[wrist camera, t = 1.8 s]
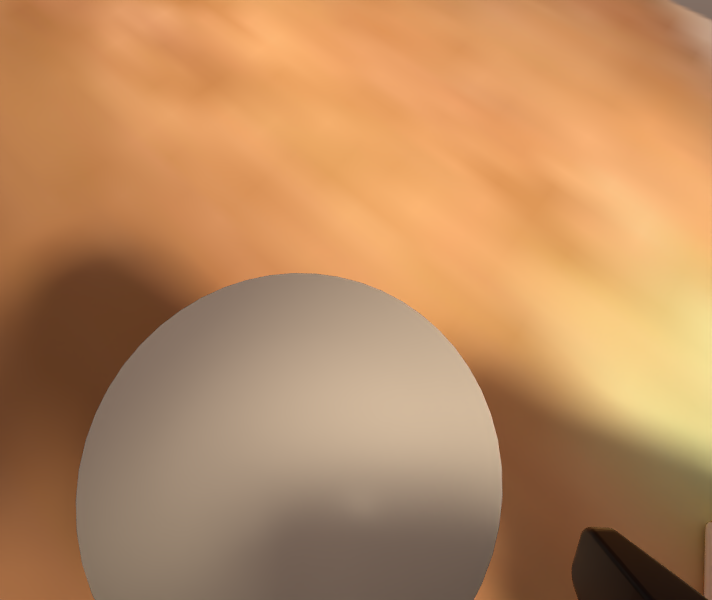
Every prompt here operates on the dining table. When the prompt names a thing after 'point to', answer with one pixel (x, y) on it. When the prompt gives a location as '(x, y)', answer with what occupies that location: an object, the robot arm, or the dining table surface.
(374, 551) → the canister
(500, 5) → the dining table surface
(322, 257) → the dining table surface
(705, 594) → the grey bottle
